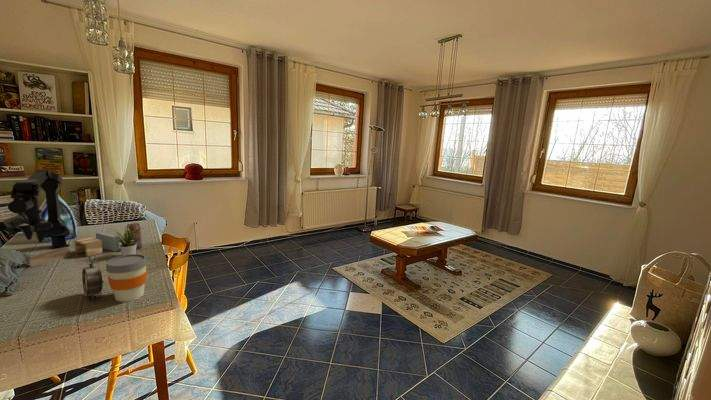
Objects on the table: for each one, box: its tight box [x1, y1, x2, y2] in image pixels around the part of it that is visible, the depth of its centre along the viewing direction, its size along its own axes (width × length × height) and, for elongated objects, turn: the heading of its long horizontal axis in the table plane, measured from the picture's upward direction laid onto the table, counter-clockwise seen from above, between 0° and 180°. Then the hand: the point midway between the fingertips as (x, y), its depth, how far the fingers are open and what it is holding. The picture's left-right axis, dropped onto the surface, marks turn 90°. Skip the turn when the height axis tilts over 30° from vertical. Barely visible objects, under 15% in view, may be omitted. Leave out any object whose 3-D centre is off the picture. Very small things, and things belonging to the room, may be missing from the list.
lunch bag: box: [39, 194, 79, 243], centre depth 174 cm, size 22×17×26 cm
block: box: [73, 236, 103, 258], centre depth 153 cm, size 11×6×7 cm, turn 69°
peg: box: [28, 247, 71, 268], centre depth 142 cm, size 4×15×4 cm, turn 164°
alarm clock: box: [81, 256, 104, 302], centre depth 112 cm, size 11×5×16 cm, turn 50°
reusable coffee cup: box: [105, 253, 148, 302], centre depth 113 cm, size 13×13×15 cm
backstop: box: [95, 231, 120, 252], centre depth 161 cm, size 16×2×8 cm, turn 69°
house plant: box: [112, 226, 143, 256], centre depth 152 cm, size 14×14×16 cm
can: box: [125, 222, 143, 251], centre depth 163 cm, size 6×6×14 cm
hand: (34, 241), depth 137 cm, fingers open, 9 cm apart
